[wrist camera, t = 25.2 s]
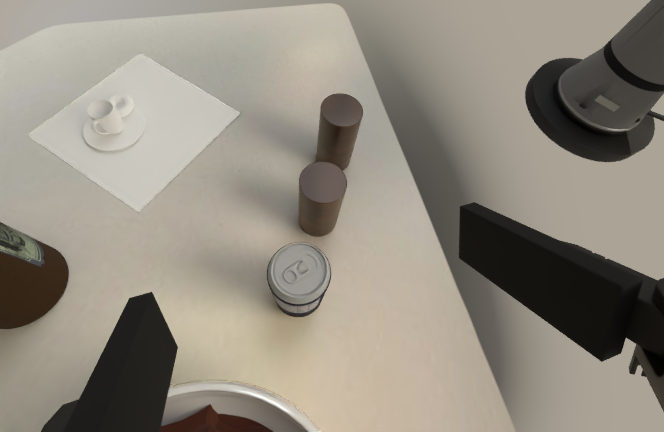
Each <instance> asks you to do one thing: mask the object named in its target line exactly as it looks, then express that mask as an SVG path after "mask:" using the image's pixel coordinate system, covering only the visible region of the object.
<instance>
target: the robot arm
mask: <svg viewBox="0 0 664 432" xmlns="http://www.w3.org/2000/svg"><path fill="white" fill-rule="evenodd" d="M553 91H554V97H555V100H556V103H557V104H558V106H559V108H560V109H561V111H562V112H563V113H564V114H565V115H566V116H567V117H568V118H569V119H570V120H571V121H572V122H574V123H575V124H576V125H578V126H580V127H581V128H583V129H585V130H587V131H589V132H592V133H595V134H598V135H603V136H619V135H622V134H624V133H626V132H628V131H629V130H631V129H632V128H634V127H635V126H637V125H638V124H639V123H640V122H641V120H642V119H643V118H644V116H645V115H646V114H647V115H650V116H652V117H655V118H657V119H660V120H662V121H664V116H663V115H660V114H657V113H655V112H652V111H650V109H651V108H652V107H653V106H654V104H655V103H656V102H657V101H658V100H659V98H660V97H661V96H662V95H663V93H664V0H651V1H650V2H649V3H648V4H647V5H646V6H645V7H644V8H643V9H642V10H641V11H640V12H639V13H638V14H637V15H636V16H635V17H634V18H632V19H631V20H630V21H629V22H628V23H627V25H625V26H624V27H623V28H622V29H621V30H620V31H619V32H618V33H617V34H616V35H615V36H614V37H613V38H612V39H611V40H610V41H609V42H608V43H607V44H606V45H605V46H604V47H603V48H602V49H600V50H598V51H597V52H595V53H594V54H592V55H590V56H589V57H587V58H585V59H584V60H582V61H581V62H579V63H578V64H575V65H574V66H572V67H570V68H568V69H567V70H566V71H565V72H564V73H563V74H562V75H561V76H560V77H559V78H558V79H557V80H556V82H555V84H554V89H553ZM459 258H460V259H461V260H462V261H464V262H465V263H467V264H468V265H470V266H471V267H472V268H474V269H475V270H476V271H478V272H479V273H480V274H482V275H483V276H484V277H486V278H487V279H489V280H490V281H491V282H493V283H494V284H496V285H497V286H498V287H500V288H501V289H502V290H504V291H505V292H507V293H508V294H509V295H511V296H512V297H514V298H515V299H516V300H518V301H519V302H520V303H522V304H523V305H524V306H526V307H527V308H529V309H530V310H531V311H533V312H534V313H535V314H537V315H538V316H540V317H541V318H542V319H544V320H545V321H547V322H548V323H549V324H551V325H552V326H553V327H555V328H556V329H558V330H559V331H560V332H562V333H563V334H565V335H566V336H567V337H568V338H570V339H571V340H573V341H574V342H575V343H577V344H578V345H579V346H581V347H582V348H584V349H585V350H586V351H588V352H589V353H590V354H592V355H593V356H595V357H596V358H598V359H599V360H600V361H604V360H606V359H609V358H611V357H613V356H616V355H618V354H620V353H621V352H622V348H623V345H624V342H625V338H628V339H630V340H631V341H633V342H634V343H636V347H635V350H634V354H633V356H632V360H631V363H630V366H629V372H630V374H635V372H636V369H637V366H638V365H641V367H642V368H643V371H642V374H641V375H642V376H645V377H647V379H648V381H649V383H650V385H651V387H652V389H653V391H654V393H655V395H656V397H657V399H658V401H659V403H660V405H661V407H662V409H663V411H664V278H663V279H660V280H659V281H658V280H655V279H653V278H651V277H648V276H646V275H644V274H642V273H639V272H637V271H635V270H632V269H630V268H628V267H626V266H623V265H621V264H619V263H616V262H614V261H612V260H610V259H605V257H603V256H601V255H598V254H596V253H594V254H593V253H592V251H589V250H587V249H585V248H583V247H580V246H578V245H575V244H571V243H567V242H563V241H559V240H557V239H554V238H552V237H550V236H548V235H545V234H543V233H541V232H539V231H537V230H534V229H532V228H530V227H528V226H526V225H523V224H521V223H519V222H517V221H514V220H512V219H510V218H508V217H506V216H503V215H501V214H499V213H497V212H494V211H492V210H490V209H488V208H486V207H483V206H481V205H479V204H477V203H471V204H467V205H464V206H460V237H459ZM177 348H178V347H177V344H176V342H175V340H174V338H173V336H172V334H171V332H170V330H169V327H168V325H167V323H166V321H165V319H164V317H163V315H162V312H161V310H160V308H159V306H158V304H157V302H156V300H155V297H154V295H153V293H152V292H150V293H146V294H143V295H139V296H136V297H132V298H129V300H128V302H127V304H126V306H125V308H124V310H123V312H122V314H121V316H120V318H119V320H118V322H117V324H116V326H115V328H114V330H113V332H112V334H111V336H110V338H109V340H108V342H107V344H106V346H105V348H104V350H103V352H102V354H101V356H100V358H99V360H98V362H97V364H96V366H95V368H94V370H93V372H92V374H91V376H90V378H89V380H88V382H87V385H86V387H85V389H84V391H83V393H82V395H81V397H80V399H79V400H76V401H73V402H70V403H67V404H64V405H62V406H61V408H60V409H59V410H58V411H57V412H56V413H55V414H54V415H53V416H52V418H51V419H50V420H49V421H48V422H47V423H46V424H45V425H44V427H43V429H42V430H41V432H160V429H161V424H162V419H163V414H164V410H165V405H166V400H167V396H168V391H169V386H170V381H171V377H172V372H173V367H174V363H175V358H176V353H177Z"/></svg>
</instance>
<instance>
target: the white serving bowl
mask: <svg viewBox="0 0 664 432" xmlns="http://www.w3.org/2000/svg"><path fill="white" fill-rule="evenodd" d="M160 432H322V431H321V430H320V429H319V427H318V426H317V425H316V424H315V423H314V422H313V421H312V420H311V419H310V418H309V417H308V416H307V415H306V414H305V413H304V412H302V411H301V410H300V409H299V408H297V407H296V406H295V405H294V404H292V403H291V402H289V401H287V400H286V399H284V398H283V397H281V396H279V395H277V394H275V393H273V392H271V391H269V390H267V389H264V388H261V387H258V386H255V385H251V384H247V383H243V382H237V381H228V380H206V381H197V382H189V383H185V384H180V385H175V386H172V387H169V391H168V396H167V400H166V405H165V410H164V414H163V419H162V424H161V429H160Z"/></svg>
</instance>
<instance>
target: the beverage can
mask: <svg viewBox="0 0 664 432" xmlns="http://www.w3.org/2000/svg"><path fill="white" fill-rule="evenodd" d="M330 279H331V268H330V264H329V261H328V259H327V257H326V256H325V255H324V253H323V252H322V251H321V250H320V249H318V248H317V247H315V246H313V245H311V244H308V243H304V242H295V243H291V244H288V245H286V246H284V247H282V248H281V249H279V250H278V251H277V252H276V253H275V254H274V255H273V257H272V258H271V260H270V262H269V265H268V269H267V280H268V284H269V287H270V289H271V291H272V294H273V296H274V298H275V301H276V303H277V305H278V307H279V308H280V309H281V310H282V311H283V312H284V313H285V314H287V315H289V316H293V317H304V316H307V315H309V314H311V313H312V312H314V311H315V310H316V309H317V308H318V306H319V305H320V303H321V301H322V299H323V296H324V294H325V292H326V290H327V288H328V286H329V283H330Z"/></svg>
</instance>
